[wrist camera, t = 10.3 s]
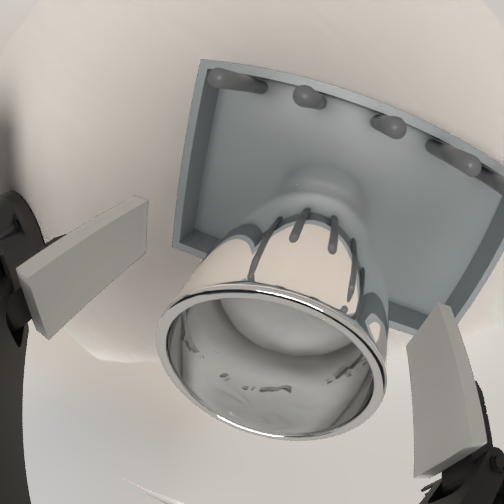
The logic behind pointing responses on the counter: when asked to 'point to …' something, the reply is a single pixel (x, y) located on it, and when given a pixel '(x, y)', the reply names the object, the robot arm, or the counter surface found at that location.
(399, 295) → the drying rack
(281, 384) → the beer glass
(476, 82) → the counter surface
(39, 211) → the counter surface
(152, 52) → the counter surface
